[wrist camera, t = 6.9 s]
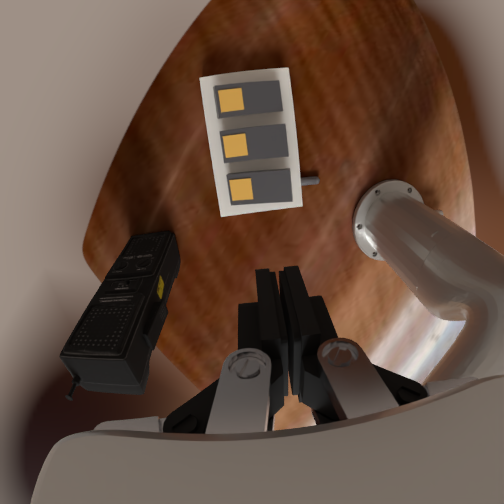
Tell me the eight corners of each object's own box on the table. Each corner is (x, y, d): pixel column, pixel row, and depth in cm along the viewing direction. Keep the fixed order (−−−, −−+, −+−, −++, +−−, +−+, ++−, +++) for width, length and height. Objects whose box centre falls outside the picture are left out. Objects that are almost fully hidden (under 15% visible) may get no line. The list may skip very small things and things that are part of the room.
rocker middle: (284, 123, 29) (285, 123, 27) (288, 154, 31) (289, 156, 29) (222, 130, 30) (219, 131, 28) (226, 160, 32) (223, 163, 30)
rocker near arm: (290, 166, 31) (289, 170, 29) (293, 197, 33) (292, 202, 31) (230, 171, 32) (225, 175, 31) (234, 200, 34) (230, 205, 32)
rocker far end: (273, 82, 28) (279, 80, 26) (277, 111, 30) (283, 111, 28) (211, 88, 27) (214, 85, 25) (216, 119, 28) (219, 118, 27)
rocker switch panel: (307, 70, 30) (313, 66, 27) (319, 197, 37) (325, 203, 35) (202, 81, 30) (199, 77, 27) (222, 209, 37) (221, 216, 35)
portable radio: (180, 227, 38) (121, 372, 16) (189, 265, 41) (152, 419, 18) (129, 234, 38) (38, 364, 16) (139, 271, 41) (74, 410, 18)
